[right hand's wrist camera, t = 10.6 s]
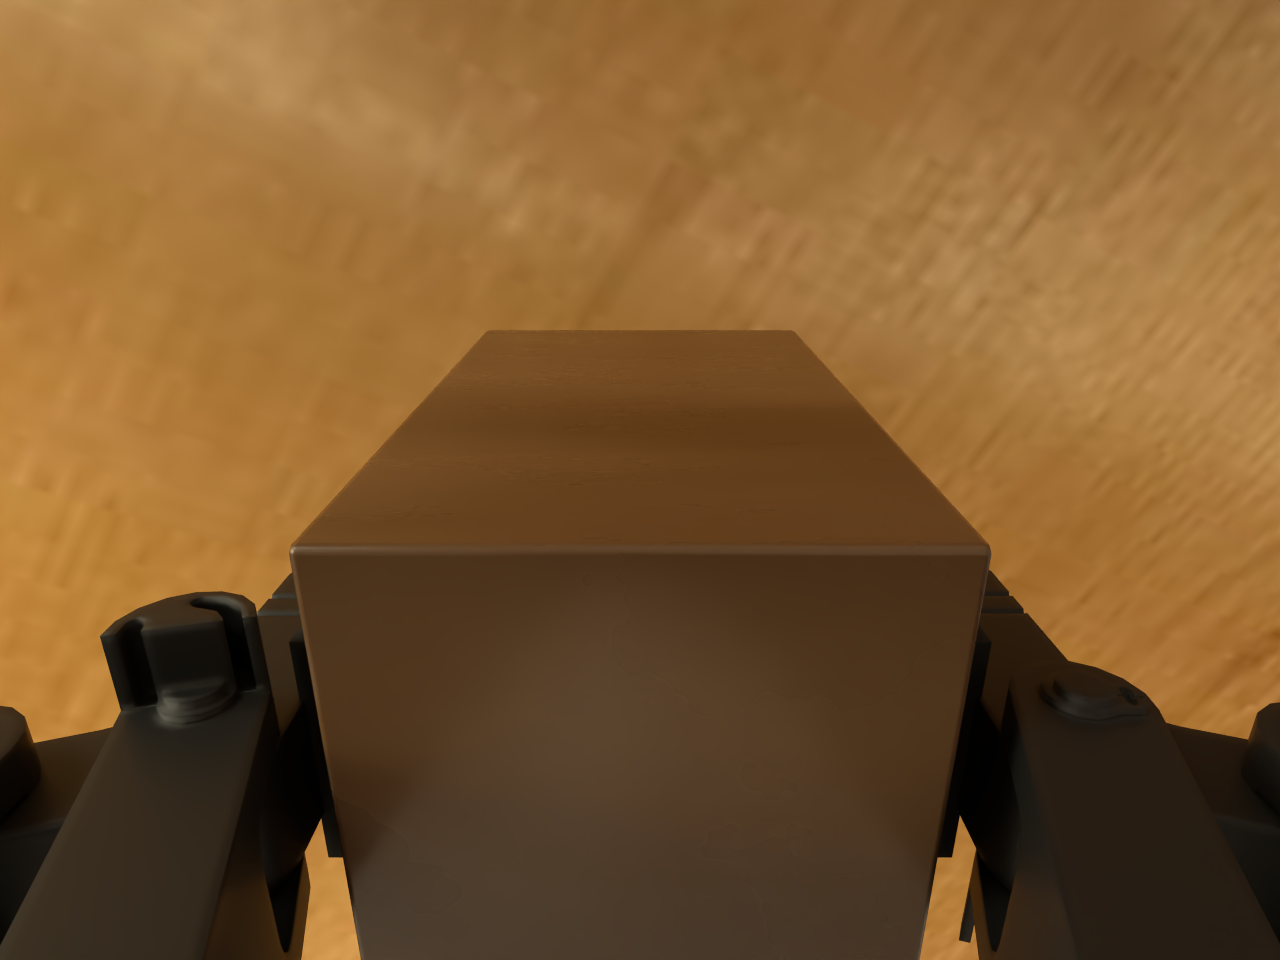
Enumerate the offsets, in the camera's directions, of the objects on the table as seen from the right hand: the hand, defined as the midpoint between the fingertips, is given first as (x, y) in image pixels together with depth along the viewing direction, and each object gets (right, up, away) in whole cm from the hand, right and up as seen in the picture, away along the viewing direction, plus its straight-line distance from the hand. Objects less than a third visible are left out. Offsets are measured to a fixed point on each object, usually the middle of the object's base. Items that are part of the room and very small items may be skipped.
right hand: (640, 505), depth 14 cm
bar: (0, -8, +4) cm, 9 cm away
